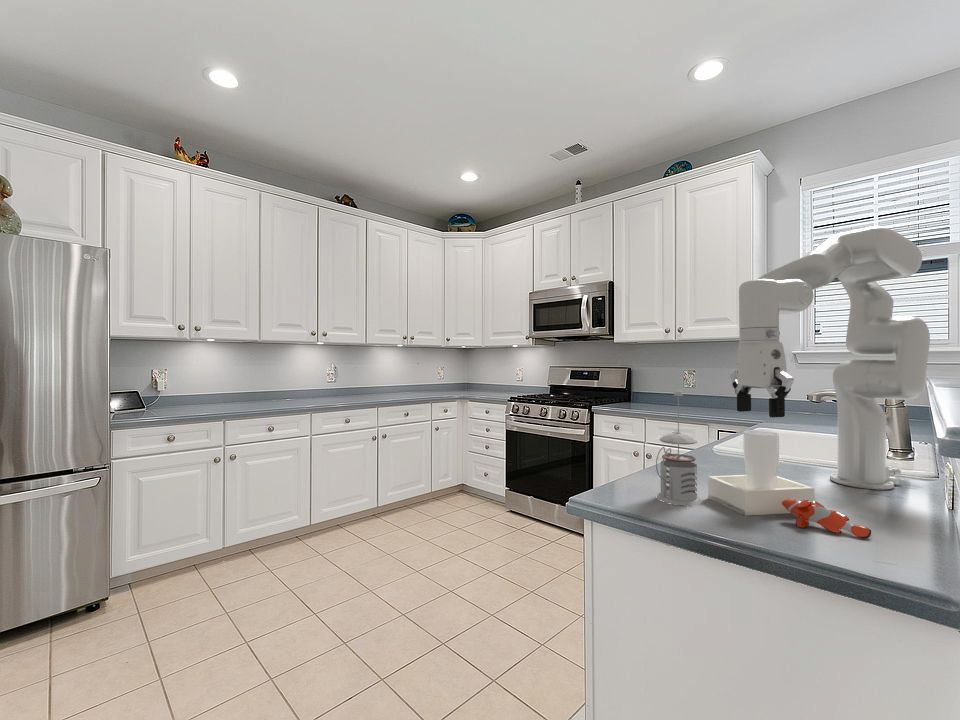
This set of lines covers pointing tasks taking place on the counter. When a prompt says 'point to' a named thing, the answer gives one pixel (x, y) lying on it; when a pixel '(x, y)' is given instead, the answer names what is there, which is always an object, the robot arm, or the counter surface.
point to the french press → (678, 470)
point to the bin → (756, 495)
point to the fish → (823, 517)
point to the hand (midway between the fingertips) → (759, 414)
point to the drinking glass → (761, 458)
